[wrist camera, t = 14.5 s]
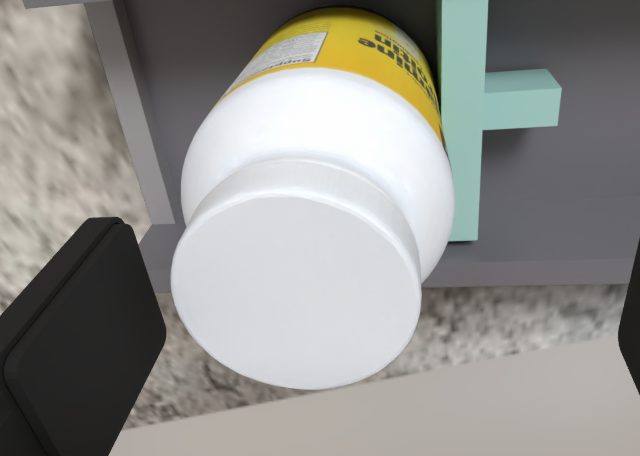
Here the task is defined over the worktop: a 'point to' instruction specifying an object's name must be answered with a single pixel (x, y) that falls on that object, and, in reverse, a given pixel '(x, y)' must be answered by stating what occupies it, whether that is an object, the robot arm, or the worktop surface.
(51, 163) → the worktop surface
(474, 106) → the pusher paddle
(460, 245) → the tray
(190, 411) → the worktop surface
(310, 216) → the pill bottle
